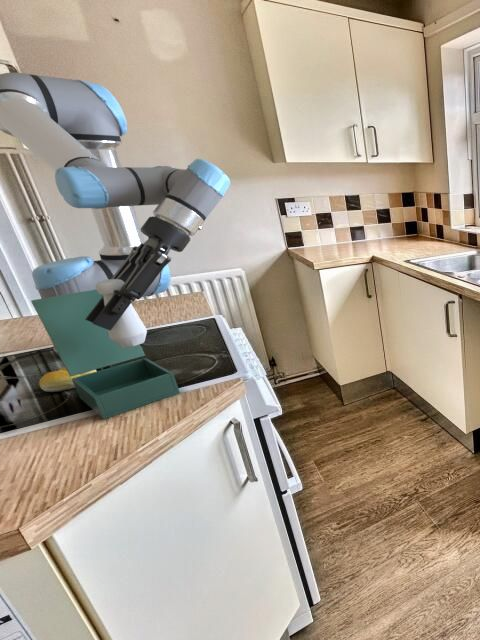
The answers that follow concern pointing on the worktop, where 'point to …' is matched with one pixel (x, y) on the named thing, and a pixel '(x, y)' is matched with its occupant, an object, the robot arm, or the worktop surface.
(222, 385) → the worktop surface
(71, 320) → the box lid
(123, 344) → the salt shaker
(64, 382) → the yellow rounded piece
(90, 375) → the box
